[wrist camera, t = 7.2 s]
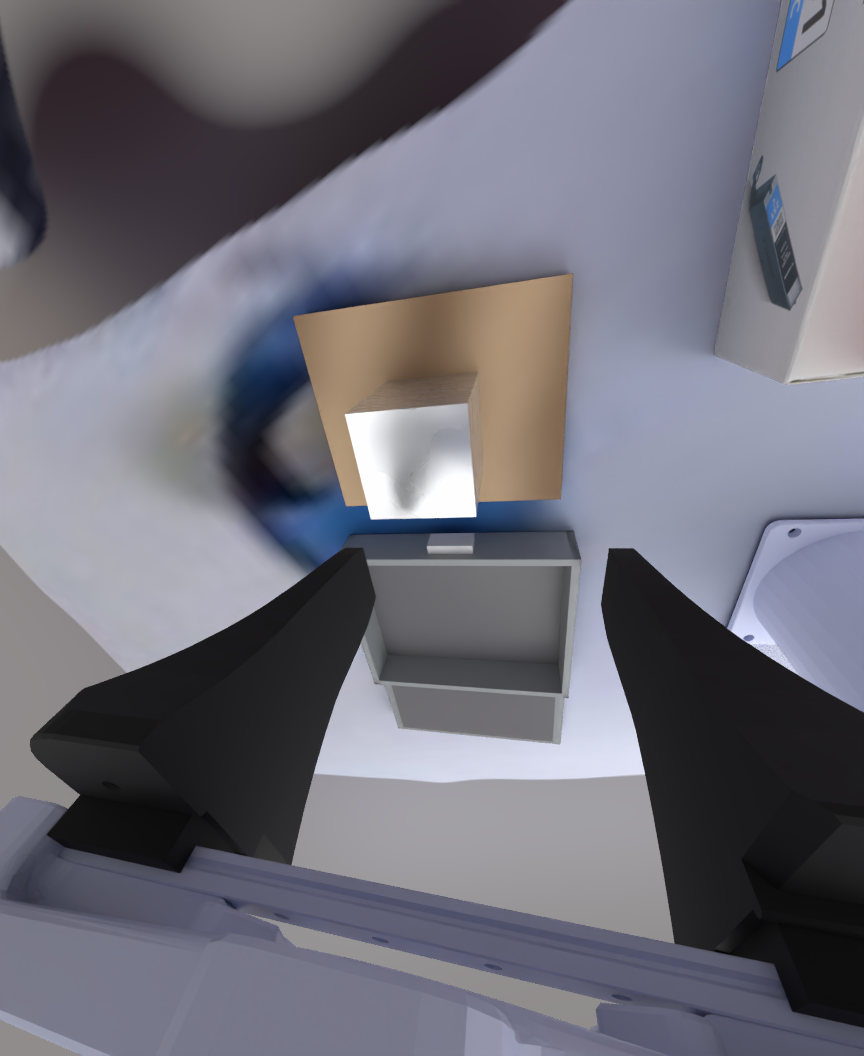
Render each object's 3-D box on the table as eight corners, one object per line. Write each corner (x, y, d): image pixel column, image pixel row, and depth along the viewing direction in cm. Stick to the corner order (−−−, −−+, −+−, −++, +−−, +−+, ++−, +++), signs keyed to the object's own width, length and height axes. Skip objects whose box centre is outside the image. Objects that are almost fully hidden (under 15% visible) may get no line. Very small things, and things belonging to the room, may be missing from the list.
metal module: (478, 371, 16) (467, 403, 12) (484, 465, 18) (476, 520, 14) (386, 381, 17) (345, 414, 12) (402, 469, 19) (371, 522, 15)
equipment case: (574, 523, 20) (581, 550, 18) (558, 728, 30) (562, 762, 28) (347, 527, 23) (331, 552, 21) (401, 714, 32) (394, 744, 30)
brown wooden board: (568, 274, 14) (572, 273, 13) (558, 487, 19) (560, 499, 18) (305, 314, 17) (292, 315, 16) (353, 495, 21) (346, 506, 20)
